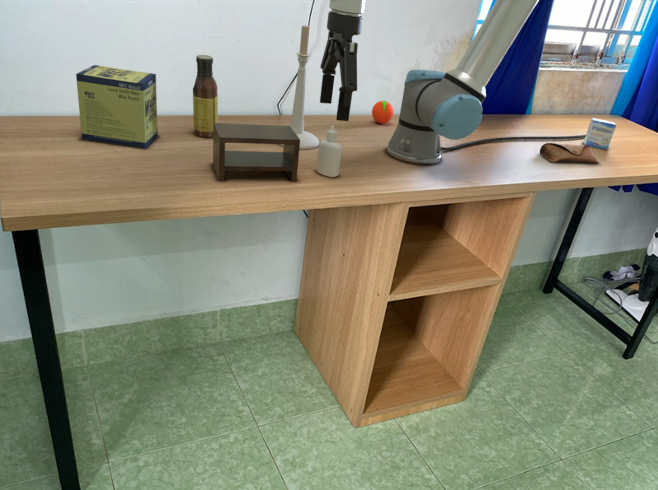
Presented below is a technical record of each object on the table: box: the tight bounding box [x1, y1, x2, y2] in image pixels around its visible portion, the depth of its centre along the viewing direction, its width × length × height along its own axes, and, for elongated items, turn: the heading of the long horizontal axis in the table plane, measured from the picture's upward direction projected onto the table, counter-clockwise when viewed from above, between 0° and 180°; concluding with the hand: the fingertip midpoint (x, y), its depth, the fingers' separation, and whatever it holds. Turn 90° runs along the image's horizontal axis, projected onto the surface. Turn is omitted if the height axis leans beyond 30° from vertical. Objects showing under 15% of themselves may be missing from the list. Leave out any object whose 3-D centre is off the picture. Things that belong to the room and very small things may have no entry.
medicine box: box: [583, 117, 617, 151], centre depth 209 cm, size 8×4×9 cm, turn 76°
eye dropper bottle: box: [315, 125, 343, 178], centre depth 148 cm, size 4×6×12 cm
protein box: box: [75, 64, 159, 149], centre depth 148 cm, size 10×16×16 cm
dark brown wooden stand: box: [212, 122, 300, 182], centre depth 143 cm, size 18×10×10 cm, turn 109°
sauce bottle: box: [192, 54, 219, 138], centre depth 158 cm, size 7×6×20 cm
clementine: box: [371, 100, 395, 125], centre depth 195 cm, size 8×7×7 cm
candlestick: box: [278, 25, 320, 150], centre depth 162 cm, size 13×13×30 cm
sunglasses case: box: [539, 142, 600, 165], centre depth 192 cm, size 18×7×7 cm
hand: (333, 111), depth 143 cm, fingers open, 13 cm apart
